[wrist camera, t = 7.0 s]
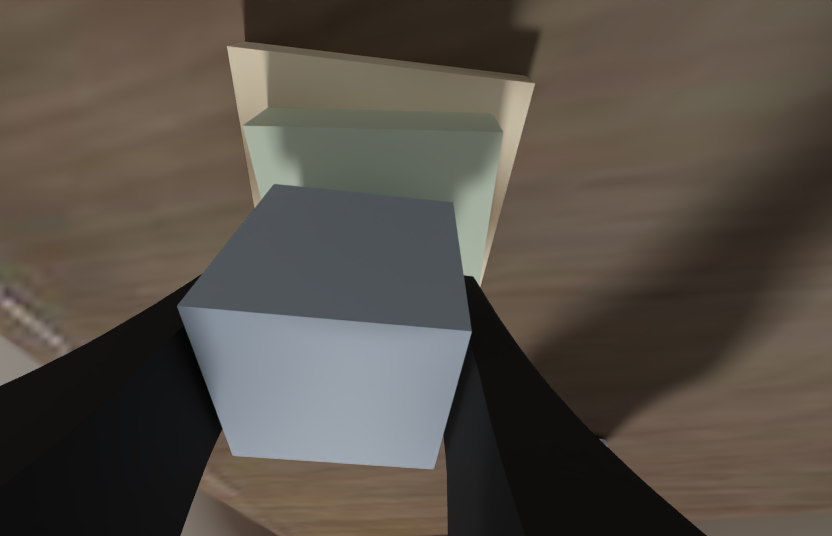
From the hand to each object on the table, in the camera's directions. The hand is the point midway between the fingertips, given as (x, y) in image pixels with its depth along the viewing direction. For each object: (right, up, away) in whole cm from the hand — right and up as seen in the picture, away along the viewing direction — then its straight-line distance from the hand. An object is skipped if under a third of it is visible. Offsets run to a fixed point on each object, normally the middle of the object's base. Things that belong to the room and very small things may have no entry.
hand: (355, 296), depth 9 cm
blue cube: (0, +1, +1) cm, 2 cm away
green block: (0, +3, +4) cm, 5 cm away
